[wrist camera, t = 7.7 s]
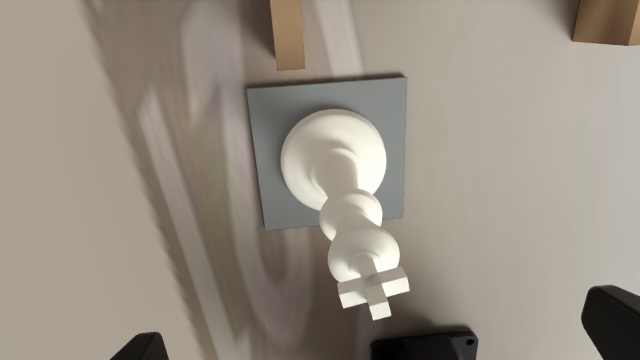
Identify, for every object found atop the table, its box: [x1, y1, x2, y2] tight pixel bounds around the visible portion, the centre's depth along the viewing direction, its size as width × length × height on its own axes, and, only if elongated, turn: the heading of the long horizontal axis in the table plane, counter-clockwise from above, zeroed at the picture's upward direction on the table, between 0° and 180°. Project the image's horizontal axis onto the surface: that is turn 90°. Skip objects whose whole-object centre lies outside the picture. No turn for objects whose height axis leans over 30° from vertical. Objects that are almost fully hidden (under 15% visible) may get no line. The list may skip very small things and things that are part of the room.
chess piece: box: [281, 109, 410, 320], centre depth 13 cm, size 5×5×10 cm
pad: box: [246, 77, 407, 230], centre depth 18 cm, size 7×7×1 cm
